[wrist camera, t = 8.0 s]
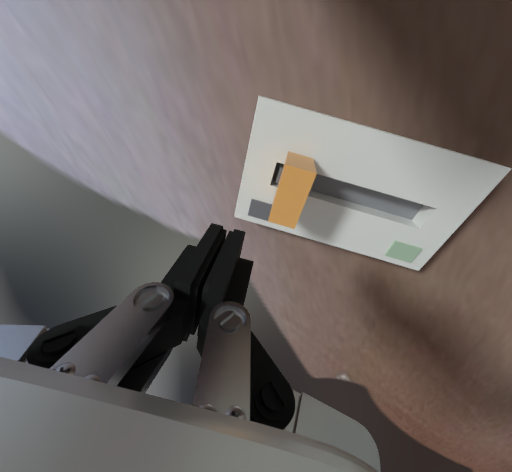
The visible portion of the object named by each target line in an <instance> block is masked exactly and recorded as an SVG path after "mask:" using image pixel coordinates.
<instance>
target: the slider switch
mask: <svg viewBox="0 0 512 472" xmlns="http://www.w3.org/2000/svg"><path fill="white" fill-rule="evenodd" d="M288 151H289V152H293V153H296V154H300V155H303V156H307V157H310V158H313V159H314V163H315V168H316V172H317V175H316V177H315V180H314V182H313V185H312V187H311V189H310V192H309V194H308V197H307V199H306V202H305V204H304V207H303V209H302V212H301V214H300V217H299V219H298V222H297V224H296V227H295V229H292V228H289V227H286V226H282V225H279V224H275V223H272V222H269V221H268V219H269V215H270V211H271V207H272V203H273V199H274V196H275V193H276V189H277V186H278V183H275V182H276V179H277V175H278V172H279V169H280V165H281V163H282V164H284V163H285V160H286V157H287V154H288ZM511 169H512V168H509V167H505V166H502V165H499V164H496V163H493V162H490V161H487V160H484V159H480V158H477V157H473V156H470V155H466V154H463V153H459V152H456V151H452V150H449V149H445V148H442V147H438V146H435V145H432V144H428V143H425V142H421V141H418V140H414V139H411V138H407V137H404V136H400V135H397V134H393V133H390V132H386V131H383V130H379V129H376V128H372V127H369V126H365V125H362V124H358V123H355V122H351V121H348V120H344V119H341V118H337V117H334V116H330V115H327V114H323V113H320V112H316V111H313V110H309V109H306V108H303V107H299V106H296V105H292V104H289V103H285V102H282V101H278V100H275V99H271V98H268V97H264V96H259V97H258V102H257V106H256V111H255V116H254V121H253V126H252V131H251V136H250V141H249V146H248V151H247V156H246V161H245V165H244V170H243V175H242V180H241V185H240V190H239V195H238V200H237V205H236V210H235V215H234V217H237V218H240V219H244V220H247V221H251V222H254V223H257V224H261V225H264V226H268V227H271V228H274V229H278V230H281V231H285V232H288V233H291V234H295V235H298V236H302V237H305V238H308V239H312V240H315V241H319V242H322V243H325V244H329V245H332V246H336V247H339V248H342V249H346V250H349V251H353V252H356V253H359V254H363V255H366V256H370V257H373V258H376V259H380V260H383V261H387V262H390V263H394V264H397V265H400V266H404V267H407V268H411V269H414V270H417V271H419V270H420V269H421V268H422V267H423V266H424V264H425V263H426V262H427V261H428V260H429V259H430V258H431V257H432V256H433V255H434V254H435V252H436V251H437V250H438V249H439V248H440V247H441V246H442V245H443V244H444V243H445V241H446V240H447V239H448V238H449V237H450V236H451V235H452V234H453V233H454V232H455V230H456V229H457V228H458V227H459V226H460V225H461V224H462V223H463V222H464V221H465V220H466V218H467V217H468V216H469V215H470V214H471V213H472V212H473V211H474V210H475V209H476V207H477V206H478V205H479V204H480V203H481V202H482V201H483V200H484V199H485V198H486V196H487V195H488V194H489V193H490V192H491V191H492V190H493V189H494V188H495V187H496V185H497V184H498V183H499V182H500V181H501V180H502V179H503V178H504V177H505V176H506V175H507V173H508V172H509V171H510V170H511Z"/></svg>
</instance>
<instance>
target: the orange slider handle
mask: <svg viewBox="0 0 512 472" xmlns="http://www.w3.org/2000/svg"><path fill="white" fill-rule="evenodd" d="M316 175H317V172H316V168H315V163H314V159H313V158H310V157H307V156H303V155H300V154H296V153H293V152H289V151H288V154H287V157H286V160H285V163H284V164H282V163H281V165H280V169H279V172H278V175H277V179H276V182H275V183H278V186H277V189H276V193H275V196H274V199H273V203H272V207H271V211H270V215H269V219H268V221H269V222H272V223H275V224H279V225H282V226H286V227H289V228H292V229H295V227H296V224H297V222H298V219H299V217H300V214H301V212H302V209H303V207H304V204H305V202H306V199H307V197H308V194H309V192H310V189H311V187H312V185H313V182H314V180H315V177H316Z"/></svg>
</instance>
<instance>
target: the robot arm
mask: <svg viewBox="0 0 512 472" xmlns="http://www.w3.org/2000/svg"><path fill="white" fill-rule="evenodd" d="M244 236H245V232H244V231H240V230H236V229H234V231H233V232H232V231H229V233H228V235H227V237H226V230H224V229H223V226H221V225H217V224H213V223H212V224H211V225H210V227H209V228H208V230H207V231H206V233H205V234H204V236H203V237H202V239H201V240H200V242H199V244H198V245H197V247H196V246H192V245H188V246H187V247H186V248H185V249H184V251H183V252H182V254H181V255H180V256H179V258H178V259H177V261H176V262H175V263H174V265H173V266H172V268H171V269H170V271H169V272H168V273H167V275H166V276H165V278H164V279H163V280H162V282H161V283H159V282H152V283H147V284H144V285H142V286H140V287H138V288H137V289H135V290H134V291H133V292H132V293H131V294H129V295H128V296H127V297H126V298H125V299H124V300H123V301H122V302H121V303H120V304H119V305H118V306H114V307H111V308H108V309H105V310H102V311H99V312H96V313H94V314H90V315H87V316H84V317H81V318H78V319H75V320H72V321H69V322H66V323H63V324H61V325H58V326H55V327H53V328H51V329H46V327H45V326H32V325H0V472H380V460H379V454H378V450H377V446H376V444H375V442H374V440H373V438H372V436H371V435H370V434H369V432H368V431H367V430H366V428H364V427H363V426H362V425H361V424H359V423H358V422H357V421H355V420H353V419H351V418H349V417H348V416H346V415H344V414H342V413H340V412H338V411H336V410H334V409H333V408H331V407H329V406H327V405H325V404H324V403H321V402H320V401H318V400H316V399H314V398H312V397H311V396H309V395H307V394H305V393H302V394H299V393H297V392H296V391H294V390H292V389H291V387H290V385H289V383H288V382H287V380H286V379H285V378H284V376H283V375H282V373H281V372H280V371H279V369H278V368H277V366H276V365H275V363H274V362H273V361H272V359H271V358H270V356H269V355H268V354H267V352H266V351H265V349H264V348H263V347H262V345H261V344H260V342H259V341H258V340H257V338H256V337H255V336H254V334H253V333H252V331H251V319H250V314H249V312H248V310H247V309H246V308H245V307H244V306H243V305H244V301H245V297H246V292H247V288H248V284H249V279H250V275H251V271H252V266H253V262H254V261H250V260H246V259H242V258H240V254H241V250H242V245H243V241H244ZM225 237H226V239H225ZM198 325H199V326H198ZM197 327H198V335H197V336H198V342H197V350H198V351H199V353H200V355H201V358H202V359H201V364H200V369H199V374H198V380H197V385H196V390H195V395H194V401H193V405H192V406H191V405H188V404H184V403H179V402H176V401H172V400H168V399H164V398H161V397H156V396H153V395H149V394H145V392H146V391H147V389H148V388H149V386H150V385H151V383H152V381H153V380H154V379H155V377H156V375H157V374H158V372H159V371H160V369H161V368H162V366H163V365H164V363H165V362H166V360H167V358H168V357H169V355H170V354H171V352H172V350H173V347H176V346H178V345H180V344H181V343H182V341H187V339H188V337H189V335H190V334H192V335H194V334H195V332H196V329H197Z"/></svg>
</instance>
